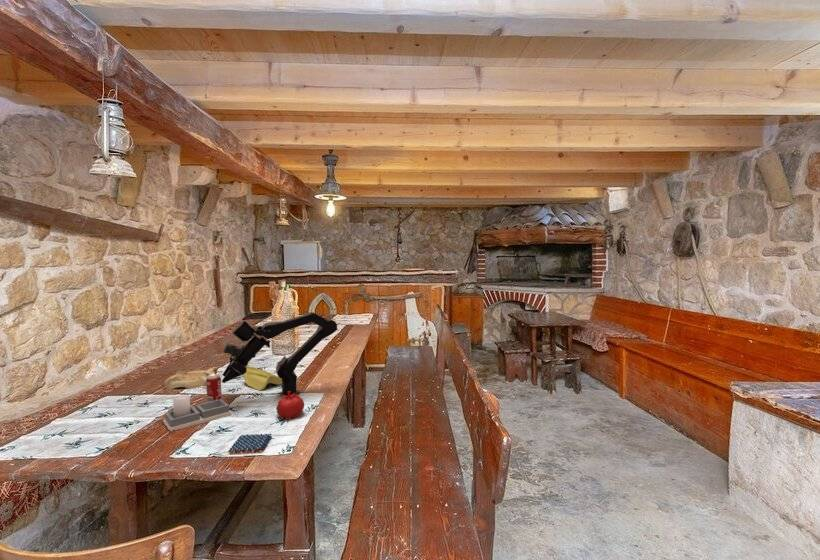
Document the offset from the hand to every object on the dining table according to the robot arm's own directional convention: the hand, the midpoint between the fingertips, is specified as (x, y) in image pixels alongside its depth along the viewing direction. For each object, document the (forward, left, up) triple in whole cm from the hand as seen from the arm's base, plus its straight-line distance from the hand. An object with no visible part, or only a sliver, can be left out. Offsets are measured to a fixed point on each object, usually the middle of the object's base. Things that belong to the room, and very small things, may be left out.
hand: (223, 378), depth 158 cm
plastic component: (+12, -23, -11) cm, 28 cm away
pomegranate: (-31, -11, -11) cm, 34 cm away
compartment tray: (-7, +13, -10) cm, 18 cm away
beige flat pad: (+40, -3, -11) cm, 42 cm away
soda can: (+1, +3, -10) cm, 11 cm away
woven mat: (-42, +10, -11) cm, 44 cm away
